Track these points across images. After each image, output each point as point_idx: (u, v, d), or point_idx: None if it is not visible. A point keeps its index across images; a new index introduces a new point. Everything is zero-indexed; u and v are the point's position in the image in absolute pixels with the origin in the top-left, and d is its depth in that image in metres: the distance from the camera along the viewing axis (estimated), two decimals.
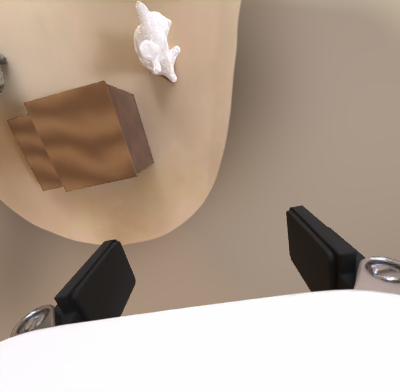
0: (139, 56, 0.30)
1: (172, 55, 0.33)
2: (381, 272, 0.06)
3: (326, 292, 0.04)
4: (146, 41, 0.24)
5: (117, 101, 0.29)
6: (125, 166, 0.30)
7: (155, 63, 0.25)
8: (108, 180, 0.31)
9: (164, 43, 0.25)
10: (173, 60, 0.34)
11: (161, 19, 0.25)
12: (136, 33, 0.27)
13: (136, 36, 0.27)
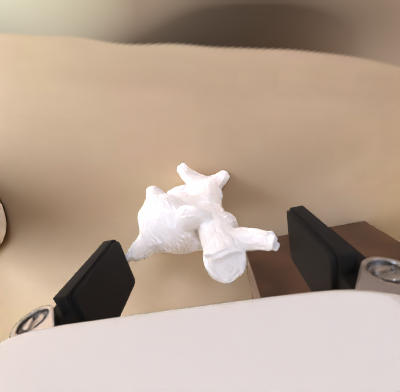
0: None
1: (191, 177, 0.18)
2: (382, 272, 0.06)
3: (326, 292, 0.04)
4: (207, 264, 0.09)
5: None
6: None
7: (254, 243, 0.09)
8: None
9: (200, 211, 0.10)
10: (197, 175, 0.19)
11: (150, 212, 0.11)
12: (173, 253, 0.14)
13: (178, 253, 0.14)
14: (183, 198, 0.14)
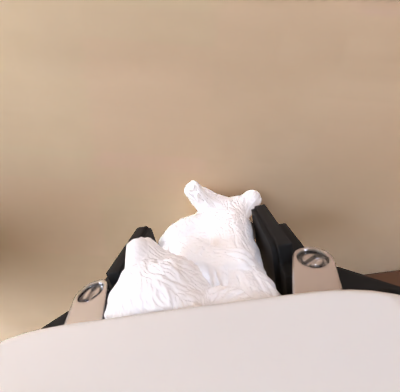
0: None
1: (205, 202, 0.12)
2: (308, 260, 0.07)
3: (326, 292, 0.04)
4: None
5: None
6: None
7: None
8: None
9: None
10: (214, 198, 0.12)
11: (127, 311, 0.05)
12: None
13: None
14: (196, 253, 0.08)
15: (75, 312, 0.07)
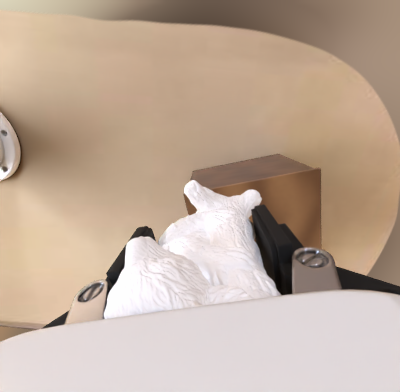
0: None
1: (205, 201, 0.12)
2: (308, 260, 0.07)
3: (326, 292, 0.04)
4: None
5: (205, 184, 0.22)
6: (300, 183, 0.19)
7: None
8: (317, 212, 0.20)
9: None
10: (214, 198, 0.12)
11: (127, 310, 0.05)
12: None
13: None
14: (196, 252, 0.08)
15: (75, 312, 0.07)
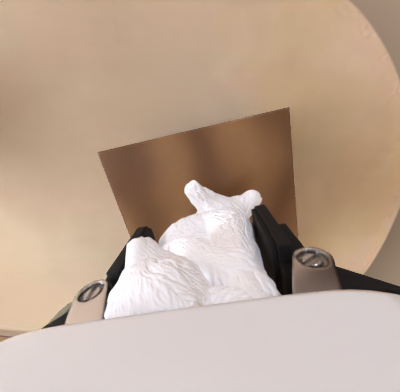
0: None
1: (205, 202, 0.12)
2: (308, 260, 0.07)
3: (326, 292, 0.04)
4: None
5: None
6: (261, 132, 0.13)
7: None
8: (289, 176, 0.14)
9: None
10: (214, 198, 0.12)
11: (127, 310, 0.05)
12: None
13: None
14: (196, 253, 0.08)
15: (75, 312, 0.07)
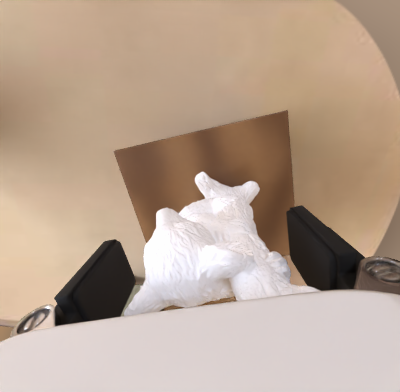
0: None
1: (212, 190, 0.14)
2: (381, 272, 0.06)
3: (326, 292, 0.04)
4: None
5: None
6: (262, 132, 0.14)
7: None
8: (287, 173, 0.15)
9: (239, 258, 0.07)
10: (219, 187, 0.15)
11: (161, 251, 0.08)
12: None
13: None
14: (206, 223, 0.10)
15: None
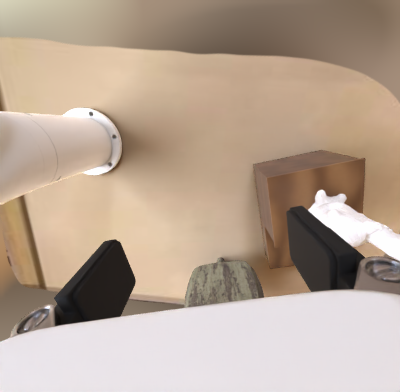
0: None
1: (325, 199, 0.28)
2: (381, 272, 0.06)
3: (326, 292, 0.04)
4: (395, 252, 0.19)
5: (277, 171, 0.31)
6: (350, 169, 0.28)
7: None
8: (361, 189, 0.29)
9: (381, 225, 0.20)
10: (327, 197, 0.28)
11: (346, 224, 0.21)
12: None
13: None
14: None
15: None
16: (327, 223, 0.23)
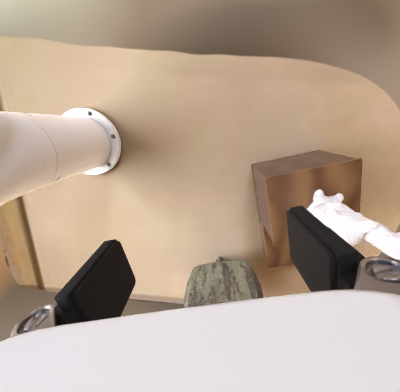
0: None
1: (323, 198, 0.28)
2: (381, 272, 0.06)
3: (326, 292, 0.04)
4: (391, 250, 0.19)
5: (276, 171, 0.31)
6: (348, 169, 0.28)
7: None
8: (358, 189, 0.29)
9: (378, 224, 0.20)
10: (325, 197, 0.29)
11: (344, 223, 0.21)
12: None
13: None
14: None
15: None
16: (325, 222, 0.23)
